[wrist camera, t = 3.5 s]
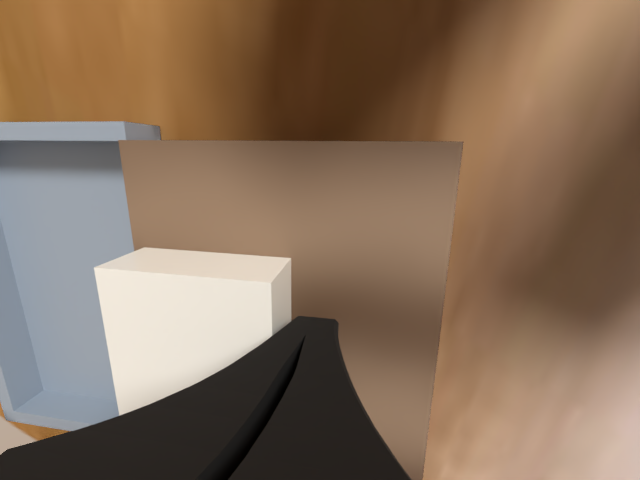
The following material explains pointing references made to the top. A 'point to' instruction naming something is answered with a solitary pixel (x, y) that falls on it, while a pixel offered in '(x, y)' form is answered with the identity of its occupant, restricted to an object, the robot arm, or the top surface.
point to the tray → (59, 266)
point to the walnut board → (324, 246)
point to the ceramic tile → (186, 316)
